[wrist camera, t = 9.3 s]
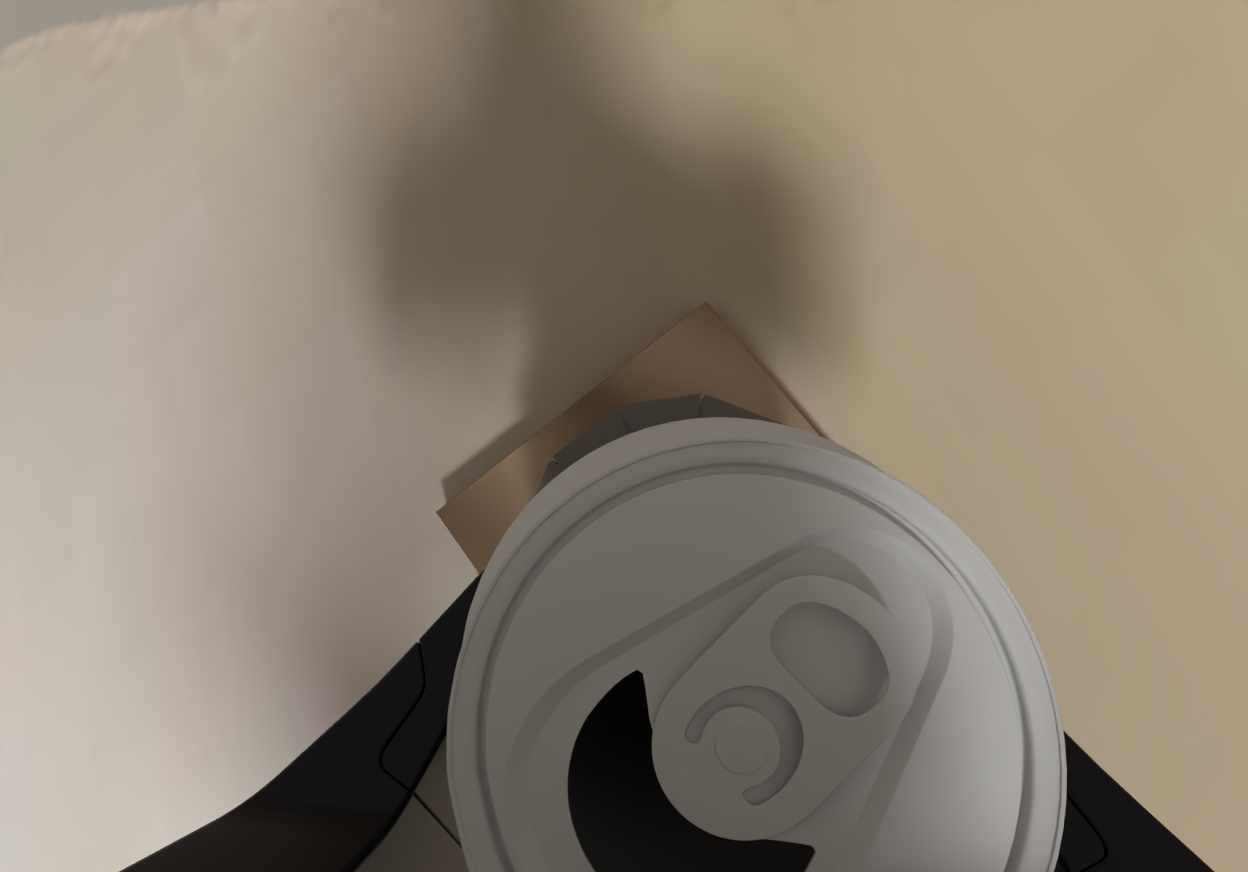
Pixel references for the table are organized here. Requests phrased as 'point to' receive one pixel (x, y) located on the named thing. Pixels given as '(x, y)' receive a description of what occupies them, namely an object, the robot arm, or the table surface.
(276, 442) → the table surface
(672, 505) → the beverage can
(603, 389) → the can holder
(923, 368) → the table surface
